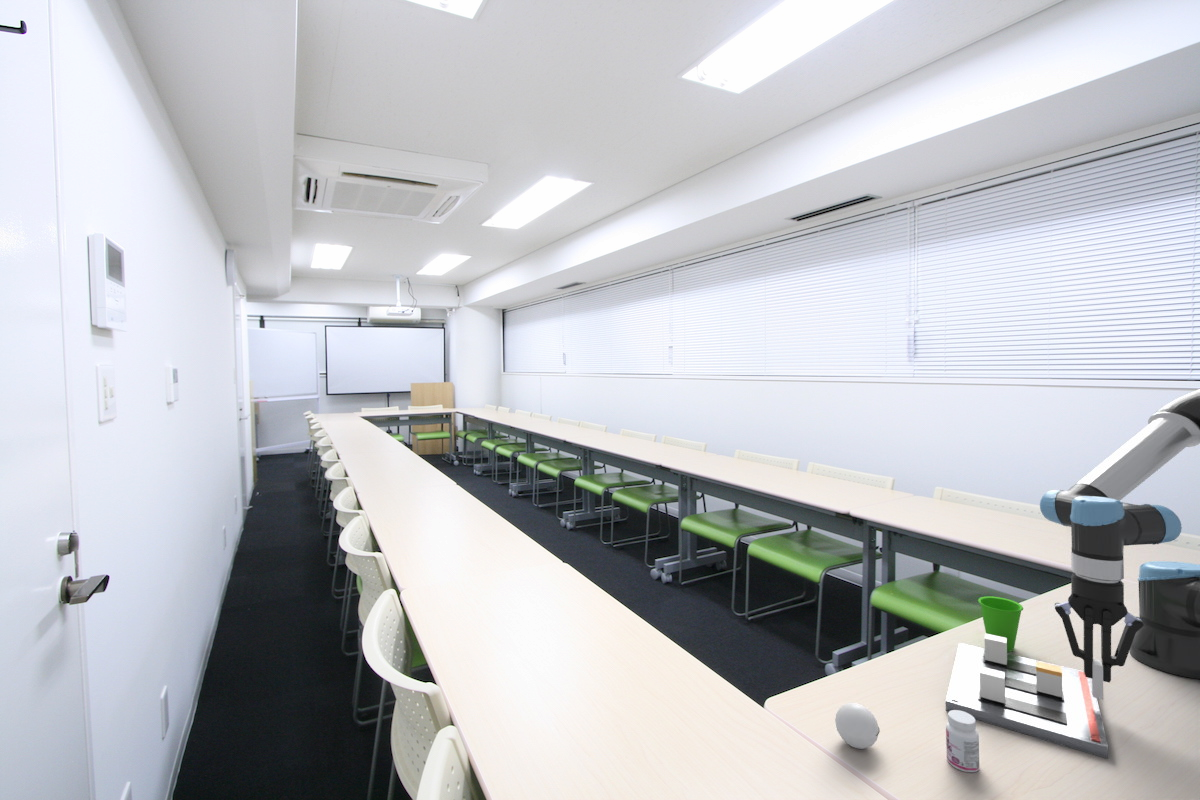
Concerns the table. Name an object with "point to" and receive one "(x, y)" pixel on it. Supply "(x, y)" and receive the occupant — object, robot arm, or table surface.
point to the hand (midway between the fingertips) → (1097, 695)
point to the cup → (1001, 618)
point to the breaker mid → (1049, 678)
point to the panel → (1029, 701)
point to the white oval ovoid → (857, 725)
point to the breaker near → (992, 684)
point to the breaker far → (996, 649)
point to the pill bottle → (962, 741)
